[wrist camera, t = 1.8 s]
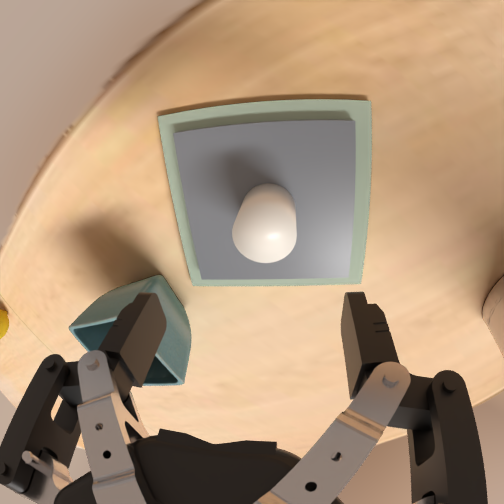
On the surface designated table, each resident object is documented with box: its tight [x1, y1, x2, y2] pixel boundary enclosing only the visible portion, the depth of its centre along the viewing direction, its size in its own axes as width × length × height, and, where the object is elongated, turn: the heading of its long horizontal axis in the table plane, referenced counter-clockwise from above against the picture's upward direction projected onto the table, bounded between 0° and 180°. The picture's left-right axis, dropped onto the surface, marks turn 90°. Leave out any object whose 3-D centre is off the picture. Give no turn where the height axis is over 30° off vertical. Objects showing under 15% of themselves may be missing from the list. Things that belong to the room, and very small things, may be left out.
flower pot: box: [69, 275, 191, 386], centre depth 26 cm, size 9×9×9 cm
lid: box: [173, 119, 356, 280], centre depth 20 cm, size 13×13×5 cm
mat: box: [158, 99, 372, 286], centre depth 23 cm, size 16×16×1 cm
